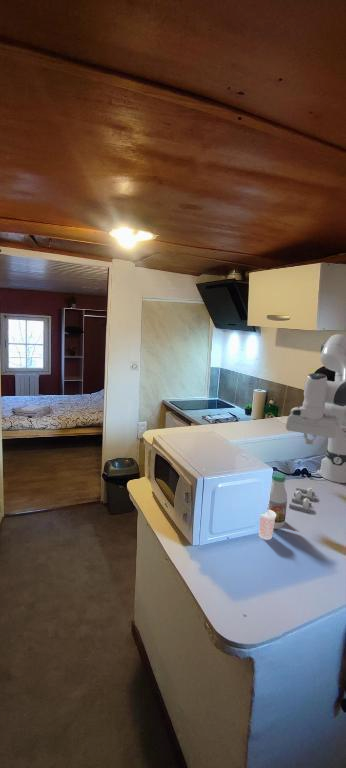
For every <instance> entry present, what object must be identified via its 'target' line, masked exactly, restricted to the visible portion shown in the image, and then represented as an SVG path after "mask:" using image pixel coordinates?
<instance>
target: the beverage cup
mask: <svg viewBox="0 0 346 768" xmlns="http://www.w3.org/2000/svg"><path fill="white" fill-rule="evenodd" d="M269 502H270V500H269ZM267 510H268V511H267V512H266V513H265V514H260V516H261V518H260V527H259V526H258V536H259V537H260V539H262V540H265V541H268V540H271V539H272V538H273V532H274V529H273V528H274V522H275V518H276V513H275V512H274V511H272V510H269V504H268V508H267Z"/></svg>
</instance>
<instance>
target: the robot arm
mask: <svg viewBox="0 0 346 768" xmlns="http://www.w3.org/2000/svg"><path fill="white" fill-rule="evenodd" d="M320 362H321V364H322V365H323V367H325V369H328V370H329V371H332V372H335V374H334V375H335V376H334V381H332V380H328V377H327V375H326V374H323V373H321V372H320V373H319V372H315V373H310V374H308V375H307V377H306V380H305V384H304V388H303V396H304V398H303V402H302V406H295V407H293V408H291V409H290V411H289V413H290V414H289V415H288V417H287V420H286V424H285V429H286V430H287V431H288V432H294V433H295V432H296V433H300V434H303V438H304V439H305V443H304V444H306V445H311V446H313V445H314V441H315V440H316V439H317V436H318V437H322V438H323V437H324V438H327V442H328V443H327V449H326V450H325V457H323V458H322V459H321V465H320V468H321V469H320V468H319V469H320V470H319V469H317V471H316V472H315V473H316V475H319V476H321V477H322V478H323V479H326V480H327V481H330V482H333V483H334V482H335V483H339V484H346V431H344V430H342V428H341V427H346V336H345V335H343V334H339V333H336V334H334V335H331V336H330V337H329V338H328V339H327V340H326V341H325V342H324V343H322V344H321V346H320ZM308 435H312V439H309V438H308Z"/></svg>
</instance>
